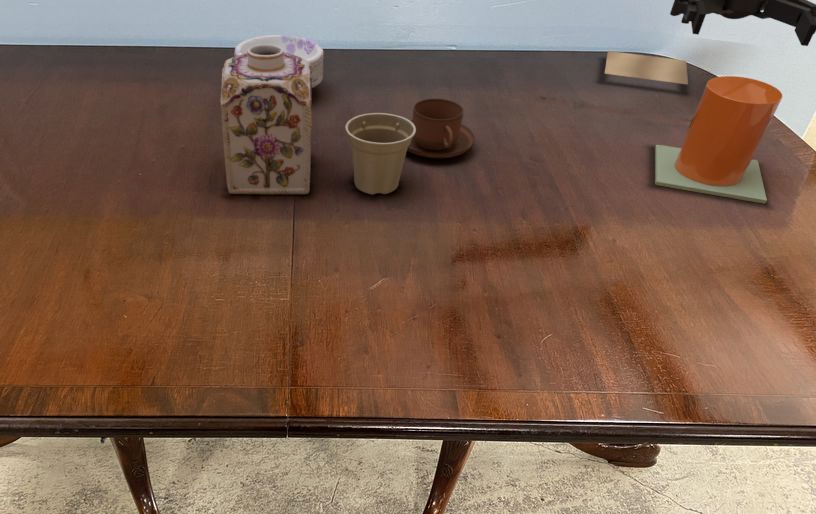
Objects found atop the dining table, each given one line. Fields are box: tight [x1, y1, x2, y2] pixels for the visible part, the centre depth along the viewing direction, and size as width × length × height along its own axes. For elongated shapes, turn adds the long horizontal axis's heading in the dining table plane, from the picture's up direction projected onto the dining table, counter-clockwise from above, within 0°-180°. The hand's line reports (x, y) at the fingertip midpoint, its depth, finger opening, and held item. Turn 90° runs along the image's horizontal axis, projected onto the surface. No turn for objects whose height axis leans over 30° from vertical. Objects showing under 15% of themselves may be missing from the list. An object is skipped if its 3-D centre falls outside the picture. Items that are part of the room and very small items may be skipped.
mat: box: [654, 144, 768, 205], centre depth 97 cm, size 14×12×1 cm
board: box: [604, 50, 689, 85], centre depth 124 cm, size 14×12×2 cm
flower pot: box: [344, 112, 416, 195], centre depth 92 cm, size 9×9×9 cm
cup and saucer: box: [406, 98, 476, 159], centre depth 101 cm, size 12×12×6 cm
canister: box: [675, 75, 783, 186], centre depth 93 cm, size 9×9×12 cm
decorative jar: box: [218, 44, 314, 195], centre depth 91 cm, size 12×12×18 cm
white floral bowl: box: [233, 34, 325, 89], centre depth 116 cm, size 15×15×8 cm
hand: (753, 29), depth 92 cm, fingers open, 13 cm apart
